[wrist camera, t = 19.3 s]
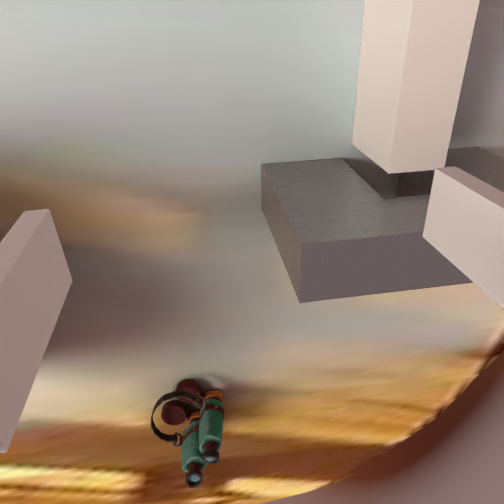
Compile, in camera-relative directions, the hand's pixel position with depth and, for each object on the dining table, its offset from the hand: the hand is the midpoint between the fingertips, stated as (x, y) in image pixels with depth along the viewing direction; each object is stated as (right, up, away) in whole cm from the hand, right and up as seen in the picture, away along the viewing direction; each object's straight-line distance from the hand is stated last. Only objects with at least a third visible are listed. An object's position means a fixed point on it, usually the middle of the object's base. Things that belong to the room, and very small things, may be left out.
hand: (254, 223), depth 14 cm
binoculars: (-9, -22, +44) cm, 50 cm away
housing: (+13, +7, +31) cm, 34 cm away
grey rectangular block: (+12, +20, +23) cm, 33 cm away
